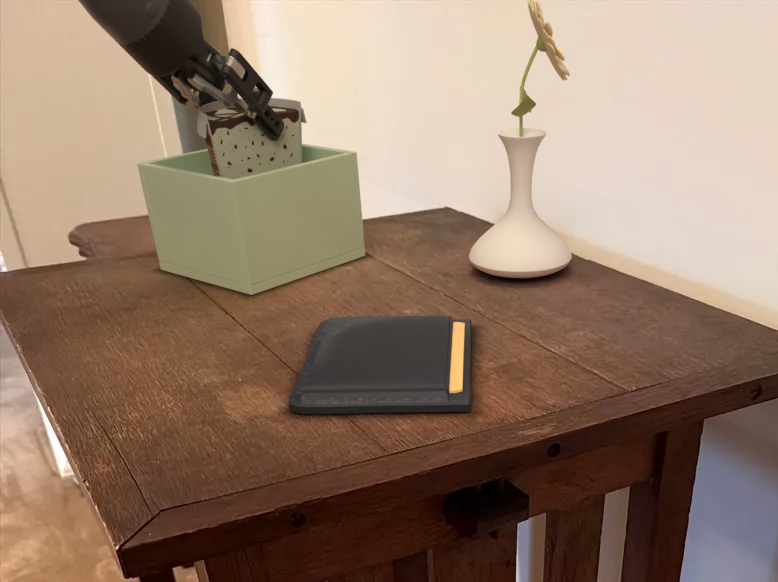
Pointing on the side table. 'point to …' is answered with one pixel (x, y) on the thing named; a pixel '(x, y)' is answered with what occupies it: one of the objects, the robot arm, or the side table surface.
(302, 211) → the bin
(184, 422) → the side table surface
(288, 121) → the food container
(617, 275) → the side table surface
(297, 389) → the wallet
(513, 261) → the flower in vase
